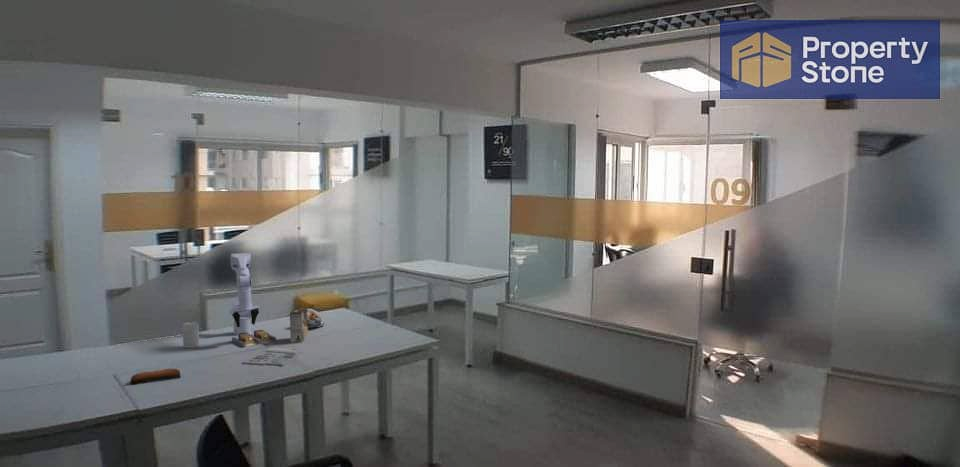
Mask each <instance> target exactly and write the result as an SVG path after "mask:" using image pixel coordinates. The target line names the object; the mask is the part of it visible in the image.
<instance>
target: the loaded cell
mask: <svg viewBox="0 0 960 467" xmlns="http://www.w3.org/2000/svg"><path fill="white" fill-rule="evenodd" d="M253 333H254V334H253V336H254V337H256V338H259V339H261V342H264V341H269V334H270V332H267V331H266V330H264V329H257V330H253Z"/></svg>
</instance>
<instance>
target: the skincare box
mask: <svg viewBox="0 0 960 467" xmlns="http://www.w3.org/2000/svg"><path fill="white" fill-rule="evenodd" d="M199 329H200V328H199V322H191V321H190V322H184V323H182V342H183V344H182V346H183V348H184V349H185V348H186V349H195V348H197V347H199V346H200V334H199V332H200V331H199Z"/></svg>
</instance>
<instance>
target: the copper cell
mask: <svg viewBox="0 0 960 467" xmlns="http://www.w3.org/2000/svg"><path fill="white" fill-rule="evenodd" d="M253 336H254V334H249V333H247V332H244V333H239V334H238V337H237V339H239V340H241V341H243V342H245V343H246V345H248V344H253V343H254V340H253Z"/></svg>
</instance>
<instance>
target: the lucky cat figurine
mask: <svg viewBox="0 0 960 467" xmlns="http://www.w3.org/2000/svg"><path fill="white" fill-rule="evenodd" d="M300 309H303V308H300ZM306 309H307V314H308V329H310V328H317V327H318V328H319V327H322V328H323V327H324V324H325V321H324V319H323V318H322V317H321V316H320V313H319V312H318V311H317V310H316V309H315V310H314V308H306Z"/></svg>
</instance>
